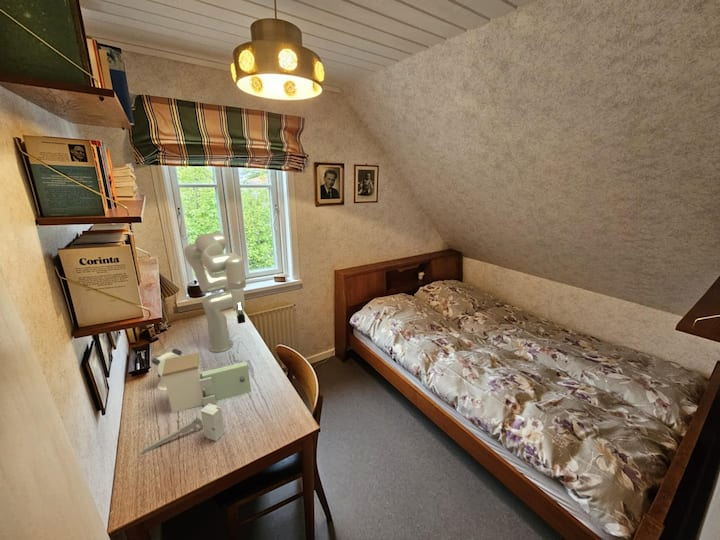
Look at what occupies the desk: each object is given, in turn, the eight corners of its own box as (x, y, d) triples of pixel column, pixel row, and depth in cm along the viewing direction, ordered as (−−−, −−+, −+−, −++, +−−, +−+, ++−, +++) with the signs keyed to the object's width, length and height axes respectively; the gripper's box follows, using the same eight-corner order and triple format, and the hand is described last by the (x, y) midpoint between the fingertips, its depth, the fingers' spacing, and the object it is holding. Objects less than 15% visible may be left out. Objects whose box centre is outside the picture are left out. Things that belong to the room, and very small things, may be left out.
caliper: (203, 427, 122) (200, 414, 120) (203, 429, 121) (200, 416, 119) (140, 453, 111) (136, 439, 109) (140, 455, 110) (136, 441, 108)
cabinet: (173, 396, 138) (165, 359, 132) (215, 386, 144) (209, 350, 138) (170, 416, 127) (161, 376, 121) (215, 403, 133) (209, 365, 128)
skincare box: (204, 436, 117) (198, 410, 113) (213, 428, 121) (208, 402, 117) (216, 441, 115) (211, 415, 111) (225, 432, 119) (221, 406, 115)
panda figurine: (178, 371, 155) (172, 345, 150) (191, 379, 149) (186, 351, 145) (152, 385, 145) (145, 357, 140) (166, 393, 139) (159, 365, 135)
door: (207, 399, 136) (202, 372, 132) (250, 387, 143) (246, 361, 139) (207, 405, 133) (202, 377, 128) (251, 393, 140) (247, 366, 136)
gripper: (227, 278, 146) (231, 311, 151) (228, 292, 131) (233, 328, 137) (244, 276, 149) (247, 309, 154) (247, 289, 134) (251, 325, 139)
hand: (240, 318), depth 145 cm, fingers open, 9 cm apart
